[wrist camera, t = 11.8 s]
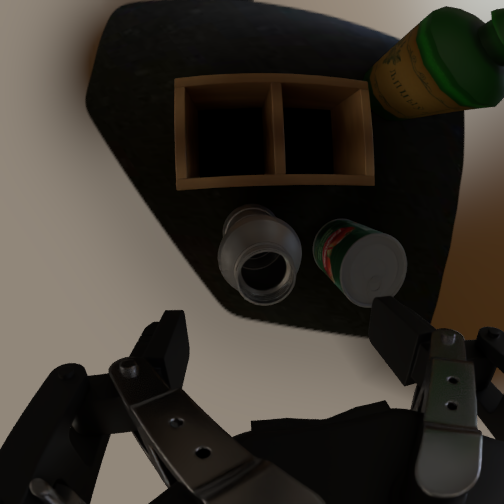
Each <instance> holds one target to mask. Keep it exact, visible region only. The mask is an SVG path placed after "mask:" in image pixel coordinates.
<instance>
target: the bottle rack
mask: <svg viewBox="0 0 504 504" xmlns="http://www.w3.org/2000/svg"><path fill="white" fill-rule="evenodd" d="M368 90H369V89H368V82H366V81H359V80H352V79H345V78H336V77H327V76H316V75H302V74H278V73H243V74H220V75H206V76H194V77H185V78H176V79H175V161H176V179H177V180H176V186H177V190H188V189H203V188H219V187H240V186H267V185H364V186H375V179H374V150H373V132H372V119H371V108H370V98H369V91H368ZM233 108H262V123H263V148H264V174H265V175H240V176H220V177H204V178H200V168H199V138H198V111H201V110H215V109H233ZM283 108H304V109H323V110H330V111H331V126H332V144H333V169H334V174H286V165H285V140H284V119H283Z"/></svg>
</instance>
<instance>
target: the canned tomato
mask: <svg viewBox="0 0 504 504" xmlns="http://www.w3.org/2000/svg"><path fill="white" fill-rule="evenodd" d="M313 256H314V259H315V261H316V264H317V265H318V266H319V268H320V269H321V270H322V271H323V272H324V273H325V274H326V275H327V276H328V277H329V278H330V279H331V280H332V281H333V282H334V283H335V285H336V286H337V287H338V288H339V289H340V290H341V291H342V292H343V293H344V294H345V295H346V297H347V298H348V299H349V300H350V301H351V302H352V303H354V304H356V305H358V306H361V307H372V302H373V299H374V298H375V297H383V296H392V297H393V296H394V295H395V294H396V293H397V292H398V291H399V289H400V287H401V286H402V284H403V281H404V279H405V276H406V271H407V259H406V254H405V251H404V249H403V247H402V245H401V244H400V243H399V242H398V241H397V240H396V239H395V238H394V237H392V236H390V235H388V234H384V233H382V232H379V231H377V230H374V229H371V228H369V227H366V226H364V225H361V224H358V223H356V222H353V221H351V220H348V219H335V220H332V221H330V222H328V223H326V224H325V225H324V226H323V227H322V228H321V229H320V230H319V231H318V233H317V235H316V237H315V239H314V243H313Z"/></svg>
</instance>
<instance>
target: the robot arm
mask: <svg viewBox="0 0 504 504" xmlns="http://www.w3.org/2000/svg"><path fill="white" fill-rule="evenodd" d="M369 339H370V342H371V344H372V345H373V346H374V348H375V349H376V350H377V351H378V353H379V354H380V355H381V357H382V358H383V359H384V360H385V362H386V363H387V364H388V366H389V367H390V368H391V369H392V371H393V372H394V373H395V375H396V376H397V377H398V379H399V380H400V381H401V383H402V384H403V385H404V386H408V385H411V384H414V383H417V386H416V389H415V392H414V396H413V401H412V405H411V409H410V410H408V409H397V408H395V409H394V408H392V409H391V408H390V407H389V405H388V404H387V402H386V401H385V400H384V401H380V402H376V403H372V404H368V405H363V406H359V407H355V408H353V409H350V410H348V411H346V412H343V413H341V414H338V415H335V416H333V417H330V418H328V419H322V420H319V419H294V418H282V419H271V420H257V421H251V431H249V432H244V433H242V434H239V435H236V436H234V437H231V436H230V435H229V434H228V433H227V432H226V431H224V430H223V429H222V428H221V427H220V426H219V425H218V424H217V423H216V422H215V421H214V420H213V419H212V418H211V417H210V416H209V415H207V414H206V413H205V412H204V411H203V410H202V409H201V408H200V407H199V406H198V405H197V404H196V403H195V402H194V401H193V400H192V399H191V398H190V397H189V396H188V395H187V394H186V393H185V391H183V390H182V386H183V381H184V377H185V373H186V369H187V364H188V360H189V340H188V334H187V327H186V320H185V314H184V311H183V310H165V312H164V314H163V315H162V317H161V320H160V321H159V322H153V323H151V324H150V325H148V326H147V327H146V328H145V329H144V331H143V333H142V336H140V338H139V340H138V342H137V343H136V345H135V347H134V349H133V351H132V353H131V354H130V356H129V357H125V358H122V359H119V360H117V361H116V362H114V363H113V364H112V365H111V366H110V368H109V373H107V374H101V375H92V376H87V373H86V370H85V368H84V367H83V366H82V365H80V364H76V363H68V364H64V365H61V366H59V367H57V368H55V369H54V370H53V371H52V372H51V373H50V374H49V376H48V377H47V379H46V380H45V381H44V383H43V384H42V386H41V387H40V388H39V390H38V391H37V393H36V394H35V396H34V397H33V398H32V400H31V401H30V403H29V405H28V406H27V407H26V409H25V410H24V412H23V413H22V415H21V416H20V418H19V420H18V421H17V423H16V424H15V426H14V427H13V429H12V431H11V432H10V434H9V436H8V437H7V439H6V441H5V442H4V444H3V445H2V447H1V449H0V504H90V502H91V498H92V494H93V491H94V487H95V484H96V480H97V477H98V473H99V470H100V466H101V463H102V459H103V456H104V453H105V450H106V447H107V444H108V441H109V438H110V435H111V434H115V433H124V432H132V433H133V435H134V436H135V438H136V440H137V441H138V443H139V445H140V446H141V448H142V449H143V451H144V452H145V454H146V455H147V457H148V458H149V460H150V461H151V463H152V464H153V466H154V467H155V469H156V470H157V472H158V474H159V475H160V477H161V479H162V480H163V482H164V483H165V485H166V486H167V487H168V489H167V490H165V491H164V492H163V493H162V494H160V495H159V496H158V497H157V498H155V499H154V500H153V501H151V502H150V503H149V504H504V394H502V393H501V392H500V391H499V390H498V389H497V388H496V387H495V386H494V384H493V383H492V382H491V380H492V377H493V375H494V373H495V370H496V368H497V367H498V368H499V369H500V370H501V371H502V372H503V373H504V332H503V331H501V330H500V329H497V328H494V327H483V328H481V329H480V330H479V332H478V335H477V339H476V340H464V337H463V336H462V335H461V334H460V333H459V332H457V331H455V330H452V329H446V328H441V329H437V330H436V329H435V328H434V327H433V326H431V325H430V324H429V323H428V322H427V321H425V320H424V319H422V317H421V316H419V315H417V313H416V312H414V311H413V310H412V309H410V308H408V307H406V306H403V305H402V304H401V303H400V302H398V301H397V300H396V299H395V298H393V297H392V296H383V297H375V298H374V299H373V302H372V309H371V316H370V324H369ZM477 415H478V416H479V418H480V419H481V420H482V422H483V423H484V424H485V426H486V427H487V428H488V429H489V431H490V432H491V433H492V435H493V436H494V437H495V439H493V438H489V437H487V436H484V435H482V432H481V431H480V430H478V429H477ZM70 427H71V428H70Z"/></svg>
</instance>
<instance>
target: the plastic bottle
mask: <svg viewBox="0 0 504 504" xmlns="http://www.w3.org/2000/svg"><path fill="white" fill-rule="evenodd" d="M301 257H302V249H301V243H300V240H299V237H298V236H297V234H296V232H295V231H294V230H293V229H292V227H291V226H290V225H289V224H287V223H286V222H284V221H283V220H281V219H279V218H276V217H275V215H274V214H273V213H272V212H271V211H270V210H269V209H268V208H266V207H264V206H262V205H258V204H246V205H243V206H240V207H238V208H236V209H235V210H233V211H232V212H231V213H230V214H229V216H228V217H227V218H226V220H225V223H224V226H223V239H222V241H221V243H220V246H219V250H218V263H219V268H220V270H221V273H222V275H223V277H224V278H225V279H226V281H227V282H228V283H229V284H230V285H231V286H232V287H234V288H235V289H237V290H238V291H239V292H240V294H241V295H242V296H243V297H244V298H245V299H246V300H247V301H249V302H251V303H253V304H256V305H272V304H275V303H278V302H280V301H281V300H283V299H284V298H286V297H287V296H288V295H289V293H290V292H291V291H292V289H293V287H294V285H295V281H296V274H297V272H298V270H299V266H300V263H301Z"/></svg>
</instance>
